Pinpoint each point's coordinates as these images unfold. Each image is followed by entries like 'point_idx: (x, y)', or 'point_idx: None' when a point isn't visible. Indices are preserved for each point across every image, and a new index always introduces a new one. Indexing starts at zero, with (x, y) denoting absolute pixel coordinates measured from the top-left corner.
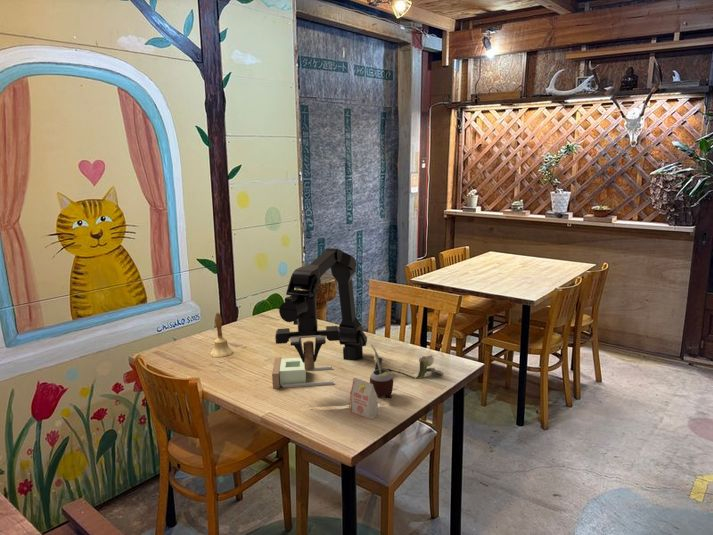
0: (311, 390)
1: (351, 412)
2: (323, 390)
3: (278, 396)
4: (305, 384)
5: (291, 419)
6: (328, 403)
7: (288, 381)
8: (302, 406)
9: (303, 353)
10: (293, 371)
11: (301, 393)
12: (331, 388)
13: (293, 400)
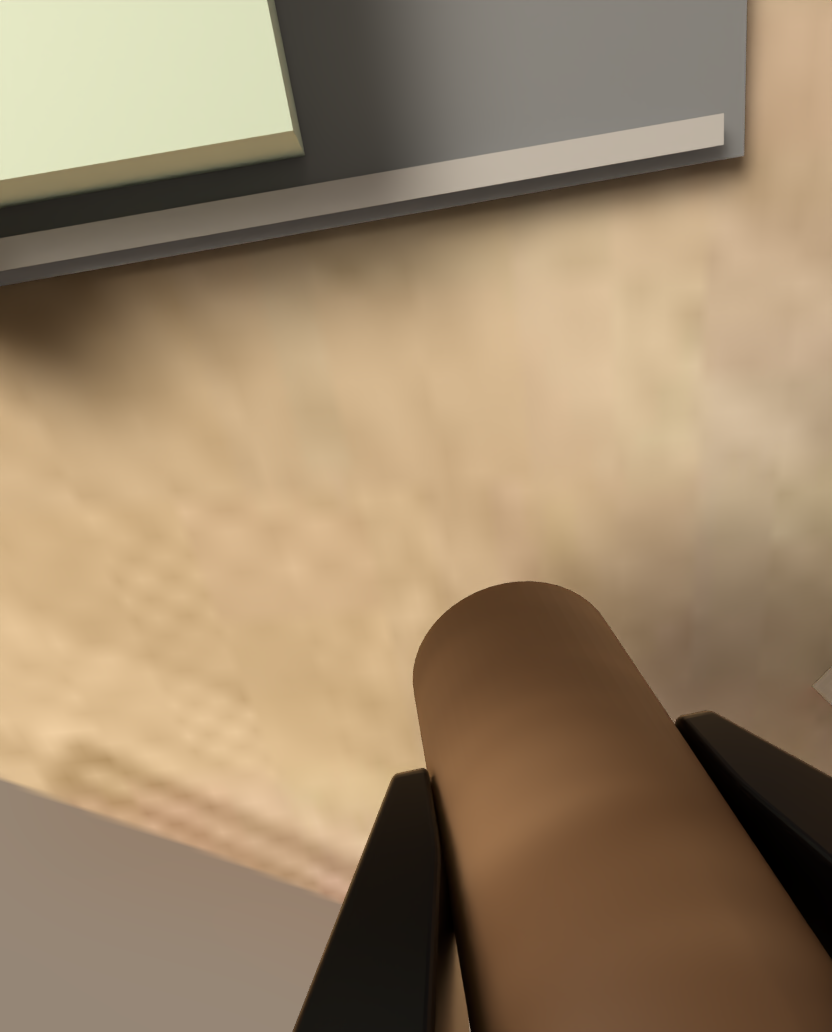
0: (400, 245)
1: (819, 691)
2: (553, 240)
3: (24, 431)
4: (316, 215)
5: (325, 825)
6: (622, 549)
7: (31, 197)
8: (371, 624)
9: (444, 967)
10: (63, 174)
11: (289, 337)
12: (652, 175)
13: (242, 514)
